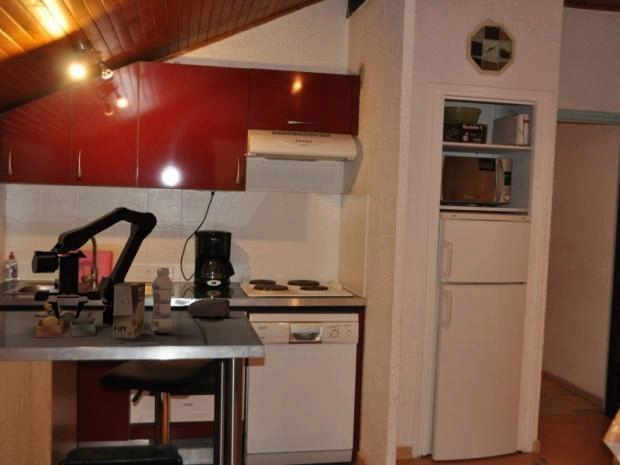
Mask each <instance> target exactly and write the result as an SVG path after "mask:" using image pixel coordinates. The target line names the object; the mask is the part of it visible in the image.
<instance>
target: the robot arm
mask: <svg viewBox="0 0 620 465" xmlns="http://www.w3.org/2000/svg"><path fill="white" fill-rule="evenodd" d="M121 221H124V222H125V223H129V224H130V229H129V231H130V233H129V236H128V238H127V240H126V243H125V244H124V246H123V249H122V250H121V252H120V255H119V257H118V259H117V261H116V263H115V265H114V267H113V268H112V270H111V272H110V274H109V275H108V276H103V275H102V277H101V278H100V281H99V284H98V285H97V286H96V288H97V289H87V291H80V259H86V258H87V257H88V256H87V255H86V254H85V253H84V252H83V250H80V249H81V248H82V247H83V246H84V245H86V244H87V243H88V242H89V241H90V240H91V239H92V238H93V237H95V236H96V235H98V234H99V233H101V232H104V231H106V230H107V229H109V228H111V227H113V226H115V225H116V224H118V223H119V222H121ZM157 222H158V219H157V217H156V215H155V214H154V213H153V212H150V211H145V212H144V211H142V212H141V211H137V210H133V209H130V208H127V207H124V206H118V207H115V208H114V209H112V210H111V211H109V212H107V213H106V214H103V215H102V216H100V217H98V218H96V219H94V220H93V221H91V222H89V223H87V224H85V225H83V226H81V227H77V228H73V229H69V230H67V231H63V232H61V233H60V234H59V235H58V238H57V242H56V243H55V245H54V246H53V247H51V249H50V250H46V251H45V250H44V251H43V250H34V252H33V257H32V260H31V262H30V263H31V271H32V274H54V273H56V272H57V271H58V278H55V279H54V285H53V286H54V288H53V289H54V290H56V292H53V291H51V290H50V289H37V290H36V291H35V292H34V294H33V295H34V296H33V298H34V300H33V301H34V302H47V304H51V306H52V308H53V310H54V312H55V314H56V317H55V318H56V319H60V312H59V307H60V304H59V303H60V302H59V299H78V300H77V307H76V313H75V319H77V318H78V317H80V316H81V315H80V314H81V311H82V310H83V308H84V306H85V304H88V303H89V301H101V302H102V305H103V306H104V310H102V319H101V323H102V324H105V325H113V312H114V285H115V284H120V283H125V281H126V280H125V279H126V277H127V275H128V273H129V271H130V269H131V267H132V265H133V262H134V260H135V258H136V256H137V254H138V252H139V250H140V248H141V246H142V244H143V241H144V240H145V239H146V238H147V237H148V236H149V235H150V234H151V233H152V232H153V230H154V229H155V228H156V227H157ZM57 290H58V292H57Z"/></svg>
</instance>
